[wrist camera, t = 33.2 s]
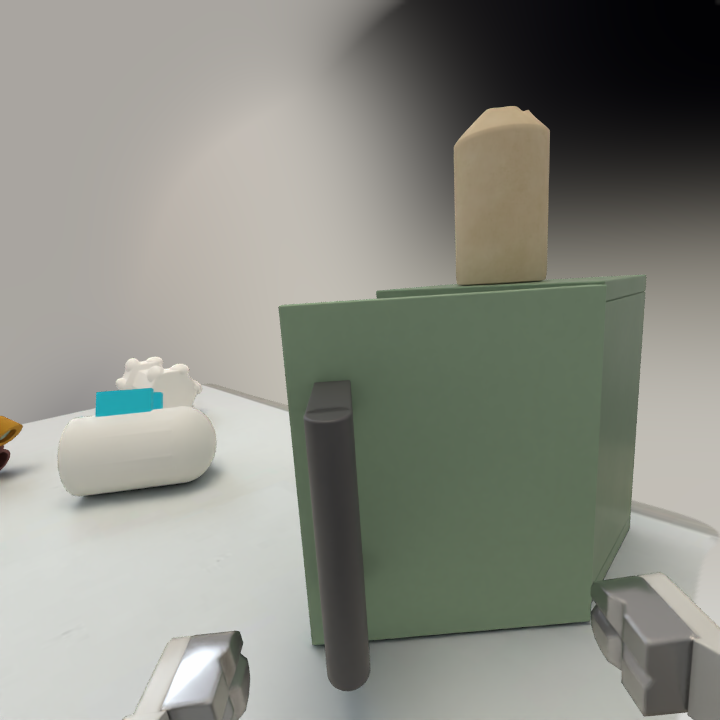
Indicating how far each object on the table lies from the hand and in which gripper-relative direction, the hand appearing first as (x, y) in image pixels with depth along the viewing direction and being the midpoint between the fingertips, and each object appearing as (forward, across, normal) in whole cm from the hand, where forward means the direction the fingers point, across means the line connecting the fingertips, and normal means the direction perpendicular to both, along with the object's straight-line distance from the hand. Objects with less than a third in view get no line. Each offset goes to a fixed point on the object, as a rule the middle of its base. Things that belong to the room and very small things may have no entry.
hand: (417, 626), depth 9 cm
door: (+6, -2, +10) cm, 12 cm away
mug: (+30, +22, +10) cm, 38 cm away
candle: (+19, -9, -5) cm, 22 cm away
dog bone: (+53, +32, +10) cm, 63 cm away
